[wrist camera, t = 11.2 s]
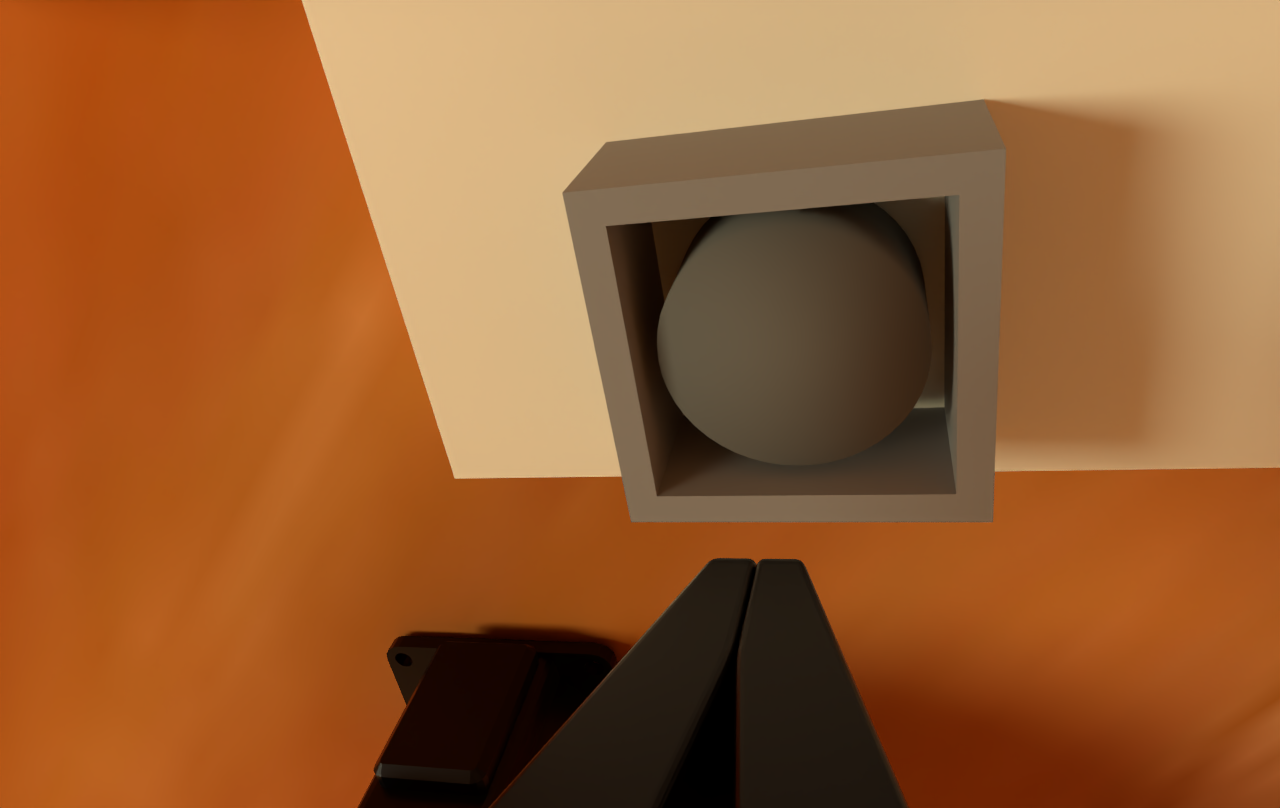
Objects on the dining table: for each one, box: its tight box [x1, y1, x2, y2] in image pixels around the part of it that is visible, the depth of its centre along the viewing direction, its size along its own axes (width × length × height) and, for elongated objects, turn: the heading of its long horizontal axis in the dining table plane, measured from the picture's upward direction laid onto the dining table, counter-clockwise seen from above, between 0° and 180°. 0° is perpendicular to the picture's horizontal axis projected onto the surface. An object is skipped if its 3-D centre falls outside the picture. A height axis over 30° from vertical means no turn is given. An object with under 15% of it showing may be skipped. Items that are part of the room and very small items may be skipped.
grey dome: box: [657, 202, 932, 466], centre depth 13 cm, size 4×4×2 cm
